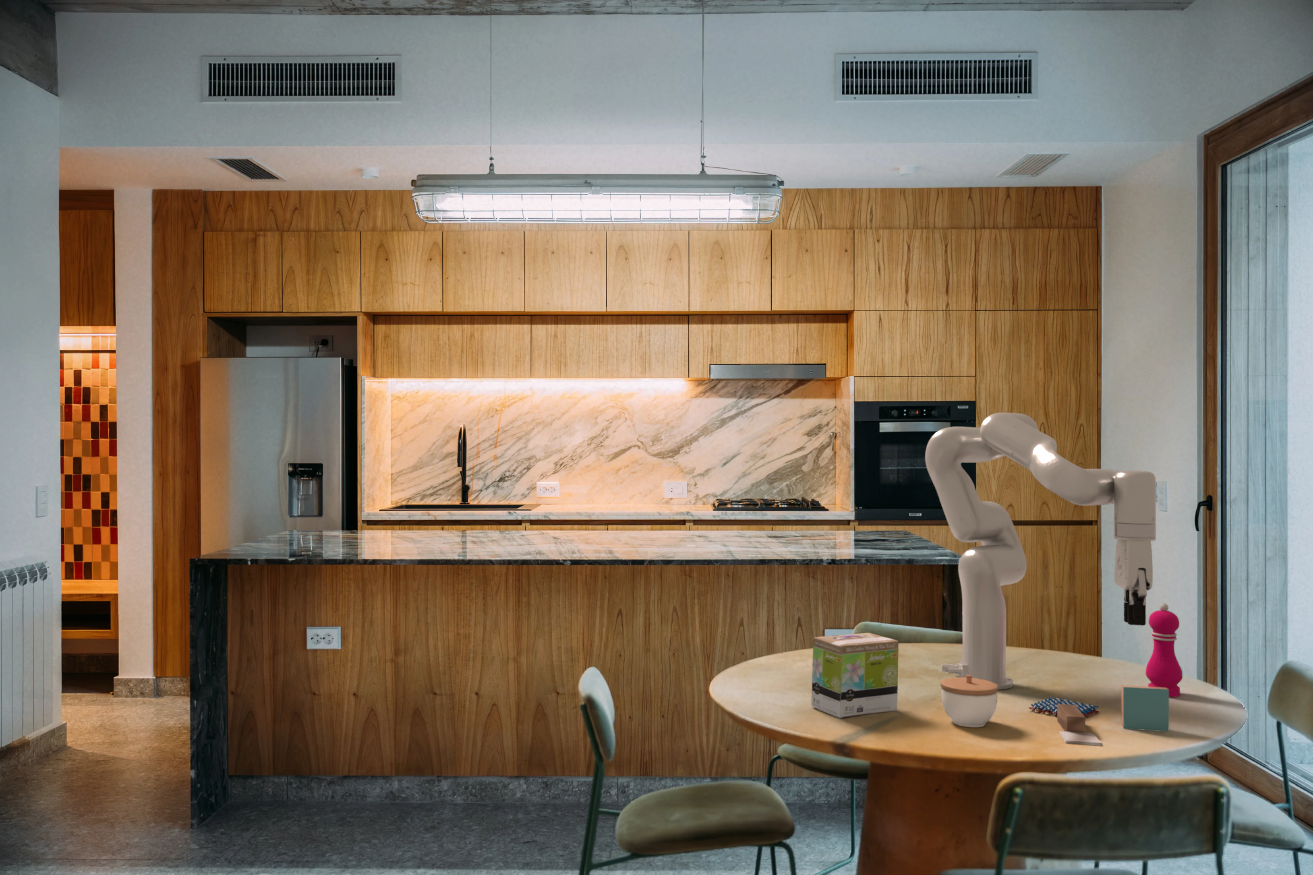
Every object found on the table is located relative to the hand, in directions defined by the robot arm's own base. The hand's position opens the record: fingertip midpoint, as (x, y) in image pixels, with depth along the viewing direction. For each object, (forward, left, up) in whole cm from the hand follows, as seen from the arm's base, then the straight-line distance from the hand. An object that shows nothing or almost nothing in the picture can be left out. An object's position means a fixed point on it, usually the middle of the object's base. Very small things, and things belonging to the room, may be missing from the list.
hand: (1134, 622), depth 191 cm
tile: (0, -7, -19) cm, 20 cm away
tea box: (-55, -6, -19) cm, 59 cm away
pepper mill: (+12, +23, -19) cm, 32 cm away
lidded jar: (-33, -11, -19) cm, 40 cm away
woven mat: (-13, +2, -20) cm, 24 cm away
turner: (-14, -13, -19) cm, 27 cm away
